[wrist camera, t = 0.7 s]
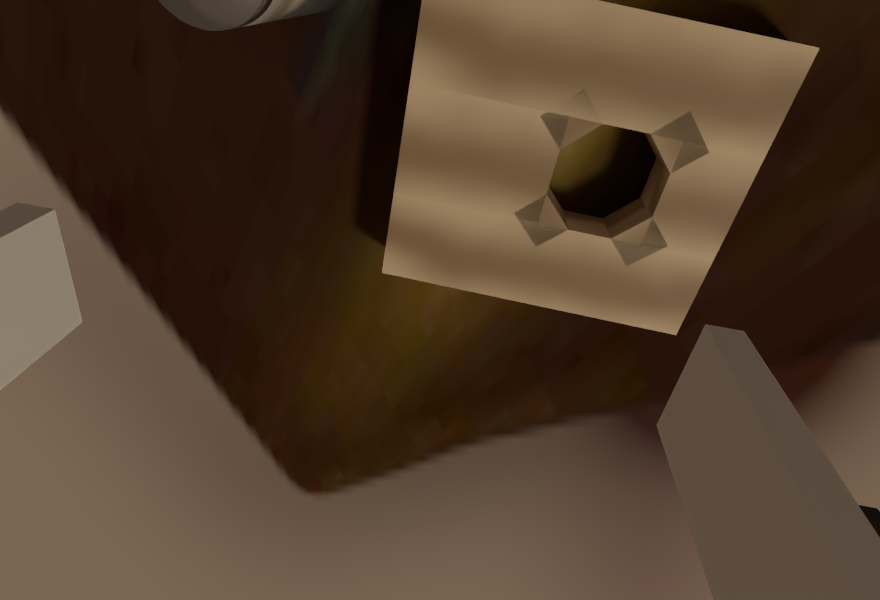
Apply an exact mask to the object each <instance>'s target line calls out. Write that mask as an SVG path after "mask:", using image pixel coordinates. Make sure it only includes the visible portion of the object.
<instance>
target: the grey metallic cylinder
mask: <svg viewBox="0 0 880 600" xmlns="http://www.w3.org/2000/svg"><path fill="white" fill-rule="evenodd" d="M344 1H345V0H159V2H160V3H161V4H162V5H163V6H164V7H165V8H166V9H167V10H168V11H169V12H170V13H172V14H173V15H174V16H176V17H177V18H178V19H180V20H182V21H183V22H185V23H187V24H189V25H192V26H194V27H197V28H200V29H204V30H211V31H221V30H227V29H233V28H238V27H243V26H249V25H254V24H260V23H265V22H270V21H276V20H281V19H286V18H292V17H297V16H303V15H308V14H313V13H319V12H324V11H329V10H332V9H334V8H336V7H338V6H339V5H341V4H342V3H343V2H344Z"/></svg>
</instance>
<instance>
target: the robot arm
mask: <svg viewBox="0 0 880 600" xmlns="http://www.w3.org/2000/svg"><path fill="white" fill-rule="evenodd" d="M81 323H82V318H81V314H80V310H79V306H78V302H77V298H76V293H75V290H74V286H73V281H72V278H71V273H70V269H69V265H68V262H67V258H66V253H65V249H64V245H63V241H62V237H61V233H60V228H59V224H58V220H57V216H56V212H55V209H50V208H44V207H39V206H34V205H28V204H22V203H16V204H14V205H12V206H9V207H8V208H5V209H3V210H1V211H0V390H1V389H2V388H3V387H5V386H6V385H7V384H8V383H9V382H11V381H12V380H13V379H14V378H15V377H17V376H18V375H19V374H20V373H22V372H23V371H24V370H25V369H26V368H27V367H29V366H30V365H31V364H32V363H34V362H35V361H36V360H37V359H38V358H40V357H41V356H42V355H43V354H44V353H46V352H47V351H48V350H49V349H51V348H52V347H53V346H54V345H55V344H57V343H58V342H59V341H60V340H61V339H63V338H64V337H65V336H66V335H67V334H69V333H70V332H71V331H72V330H74V329H75V328H76V327H77V326H78V325H80V324H81ZM657 428H658V431H659V435H660V438H661V441H662V443H663V447H664V450H665V453H666V456H667V459H668V462H669V465H670V468H671V471H672V474H673V477H674V480H675V483H676V486H677V489H678V493H679V496H680V499H681V501H682V505H683V507H684V511H685V514H686V517H687V520H688V523H689V526H690V529H691V532H692V535H693V538H694V541H695V544H696V547H697V550H698V554H699V557H700V559H701V563H702V566H703V569H704V572H705V575H706V578H707V581H708V584H709V587H710V590H711V593H712V596H713V599H714V600H880V511H879V510H878V509H877V508H871V507H866V506H860V505H858V504H857V502H856V501H855V499H854V498H853V496H852V495H851V493H850V492H849V491H848V489H847V487H846V486H845V484H844V483H843V481H842V480H841V478H840V477H839V475H838V473H837V472H836V470H835V469H834V467H833V466H832V465H831V463H830V461H829V460H828V458H827V457H826V455H825V454H824V452H823V451H822V449H821V448H820V446H819V444H818V443H817V442H816V440H815V438H814V437H813V435H812V434H811V432H810V431H809V429H808V428H807V426H806V425H805V423H804V422H803V420H802V419H801V417H800V416H799V414H798V413H797V411H796V410H795V408H794V406H793V405H792V403H791V402H790V400H789V399H788V398H787V396H786V394H785V393H784V392H783V390H782V388H781V387H780V385H779V384H778V382H777V381H776V379H775V377H774V376H773V374H772V373H771V371H770V370H769V368H768V367H767V365H766V364H765V362H764V361H763V359H762V358H761V356H760V355H759V353H758V352H757V350H756V349H755V347H754V345H753V344H752V342H751V341H750V339H749V338H748V336H747V335H746V333H745V332H744V331H740V330H734V329H729V328H723V327H717V326H712V325H706V324H705V326H704V328H703V330H702V332H701V335H700V337H699V339H698V341H697V343H696V345H695V347H694V349H693V351H692V353H691V355H690V357H689V359H688V361H687V363H686V366H685V368H684V370H683V372H682V374H681V376H680V378H679V380H678V382H677V384H676V386H675V388H674V390H673V392H672V395H671V397H670V399H669V401H668V403H667V405H666V407H665V409H664V411H663V413H662V415H661V417H660V419H659V422H658V424H657Z"/></svg>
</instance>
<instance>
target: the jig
mask: <svg viewBox="0 0 880 600" xmlns="http://www.w3.org/2000/svg"><path fill="white" fill-rule="evenodd" d="M818 50H819V48H817V47H813V46H808V45H804V44H799V43H795V42H790V41H786V40H781V39H776V38H772V37H767V36H762V35H758V34H753V33H749V32H744V31H739V30H735V29H730V28H725V27H721V26H716V25H712V24H707V23H702V22H698V21H693V20H688V19H684V18H679V17H675V16H670V15H665V14H661V13H656V12H651V11H647V10H642V9H637V8H633V7H628V6H624V5H619V4H614V3H610V2H605V1H600V0H422V3H421V9H420V16H419V23H418V30H417V37H416V44H415V50H414V57H413V64H412V71H411V78H410V85H409V91H408V98H407V105H406V112H405V119H404V126H403V132H402V139H401V146H400V153H399V160H398V167H397V173H396V180H395V187H394V194H393V201H392V208H391V214H390V221H389V228H388V235H387V242H386V248H385V255H384V262H383V269H382V273H386V274H390V275H395V276H400V277H404V278H409V279H414V280H419V281H423V282H428V283H433V284H437V285H442V286H447V287H452V288H456V289H461V290H466V291H470V292H475V293H480V294H485V295H489V296H494V297H499V298H504V299H508V300H513V301H518V302H522V303H527V304H532V305H537V306H541V307H546V308H551V309H555V310H560V311H565V312H570V313H574V314H579V315H584V316H588V317H593V318H598V319H603V320H607V321H612V322H617V323H621V324H626V325H631V326H636V327H640V328H645V329H650V330H655V331H659V332H664V333H669V334H673V335H676V334H677V332H678V330H679V328H680V326H681V324H682V322H683V320H684V318H685V316H686V314H687V312H688V310H689V308H690V306H691V304H692V302H693V300H694V298H695V296H696V294H697V292H698V290H699V288H700V286H701V284H702V282H703V280H704V278H705V276H706V274H707V272H708V270H709V268H710V266H711V264H712V262H713V260H714V258H715V256H716V254H717V252H718V250H719V248H720V246H721V244H722V242H723V240H724V238H725V236H726V234H727V232H728V230H729V228H730V226H731V224H732V222H733V220H734V218H735V216H736V214H737V212H738V210H739V208H740V206H741V204H742V202H743V200H744V198H745V196H746V194H747V192H748V190H749V188H750V186H751V184H752V182H753V180H754V178H755V176H756V174H757V172H758V170H759V168H760V166H761V164H762V162H763V160H764V158H765V156H766V154H767V152H768V150H769V148H770V146H771V144H772V142H773V140H774V138H775V136H776V134H777V132H778V130H779V128H780V126H781V124H782V122H783V120H784V118H785V116H786V114H787V112H788V110H789V108H790V106H791V104H792V102H793V100H794V98H795V96H796V94H797V92H798V90H799V88H800V86H801V84H802V82H803V80H804V78H805V76H806V74H807V72H808V70H809V68H810V66H811V64H812V62H813V60H814V58H815V56H816V54H817V52H818ZM602 124H606V125H611V126H616V127H620V128H625V129H630V130H634V131H639V132H644V134H645V136H646V138H647V140H648V142H649V144H650V146H651V148H652V150H653V152H654V154H655V156H656V160H655V162H654V165H653V167H652V170H651V172H650V175H649V177H648V180H647V182H646V185H645V187H644V190H643V192H642V195H641V198H639V199H637V200H635V201H633V202H631V203H630V204H628V205H626V206H624V207H622V208H620V209H618V210H617V211H615V212H613V213H611V214H609V215H607V216H605V217H604V218H599V217H594V216H590V215H585V214H580V213H576V212H571V211H566V210H563V209H562V207H561V206H560V204H559V202H558V201H557V199H556V197H555V196H554V194H553V193H552V191H551V189H550V188H549V184H550V181H551V178H552V174H553V171H554V168H555V164H556V161H557V158H558V154H559V151H560V150H561V149H562V148H564V147H566V146H567V145H569V144H571V143H572V142H574V141H576V140H577V139H579V138H581V137H582V136H584V135H586V134H587V133H589V132H590V131H592V130H594V129H595V128H597V127H599V126H600V125H602Z"/></svg>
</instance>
